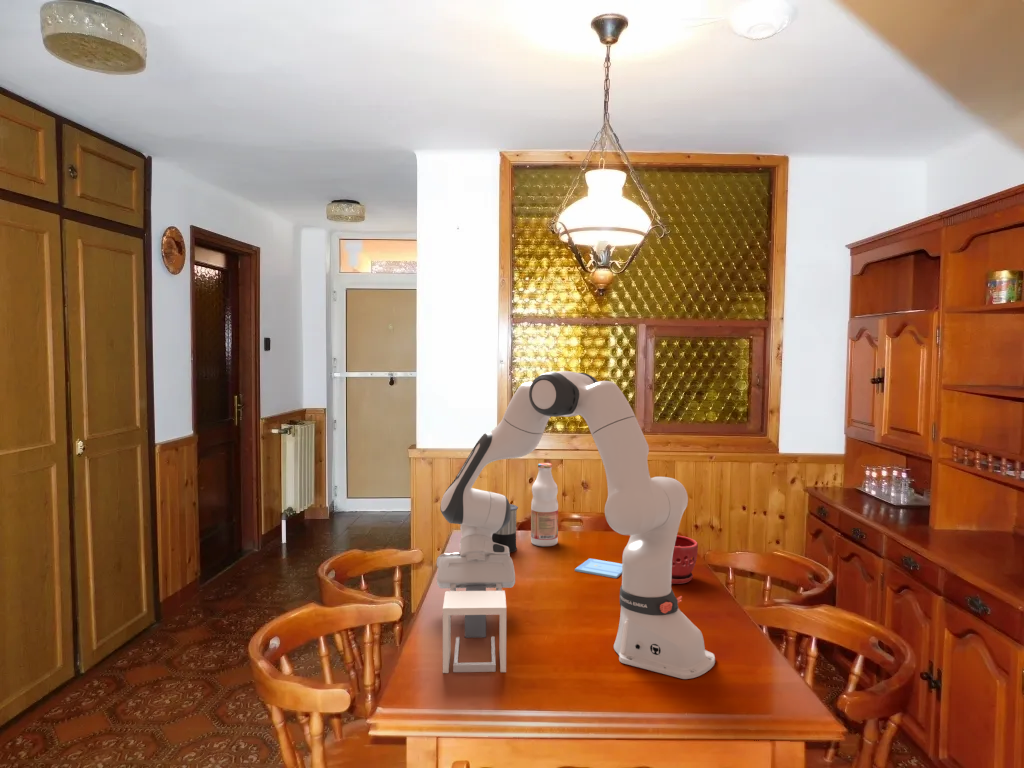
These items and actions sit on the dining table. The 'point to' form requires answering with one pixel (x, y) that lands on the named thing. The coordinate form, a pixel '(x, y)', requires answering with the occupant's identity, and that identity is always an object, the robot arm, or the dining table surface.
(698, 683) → the dining table surface
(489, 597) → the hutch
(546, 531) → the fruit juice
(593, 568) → the light blue flat slab
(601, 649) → the dining table surface
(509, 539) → the milk frother
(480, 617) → the grey block
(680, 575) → the plant pot
